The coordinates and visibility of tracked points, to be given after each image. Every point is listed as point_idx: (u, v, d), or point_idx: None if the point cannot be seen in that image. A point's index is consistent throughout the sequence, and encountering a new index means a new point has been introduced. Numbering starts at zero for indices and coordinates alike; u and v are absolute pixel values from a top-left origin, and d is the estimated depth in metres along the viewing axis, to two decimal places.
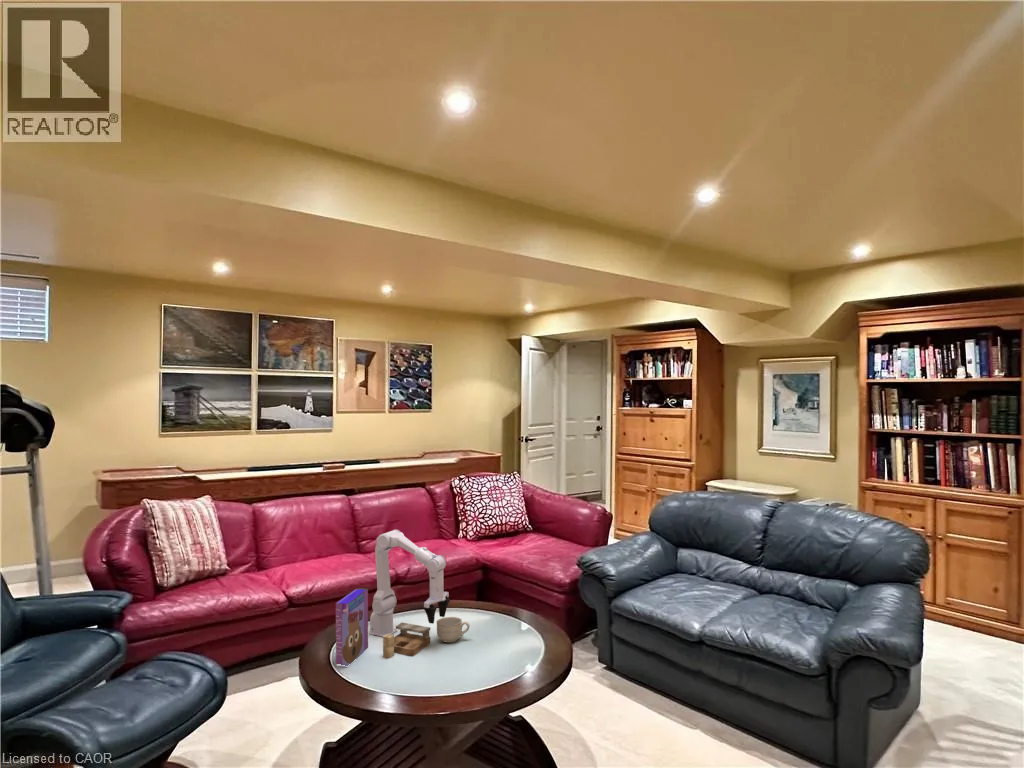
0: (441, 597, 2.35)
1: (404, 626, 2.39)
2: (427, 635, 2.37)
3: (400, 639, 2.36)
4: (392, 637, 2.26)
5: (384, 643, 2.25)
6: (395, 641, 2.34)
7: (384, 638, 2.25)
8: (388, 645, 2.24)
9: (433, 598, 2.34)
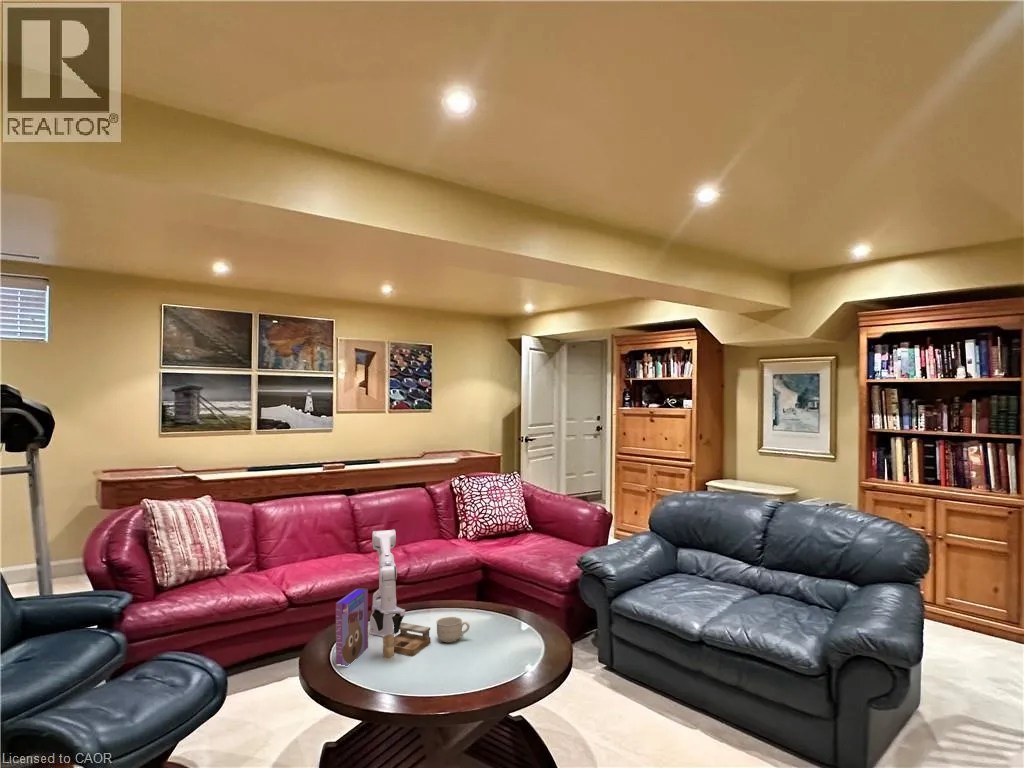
0: (383, 608, 2.24)
1: (404, 626, 2.39)
2: (427, 635, 2.37)
3: (400, 639, 2.36)
4: (392, 637, 2.26)
5: (384, 643, 2.25)
6: (395, 641, 2.34)
7: (384, 638, 2.25)
8: (388, 645, 2.24)
9: None
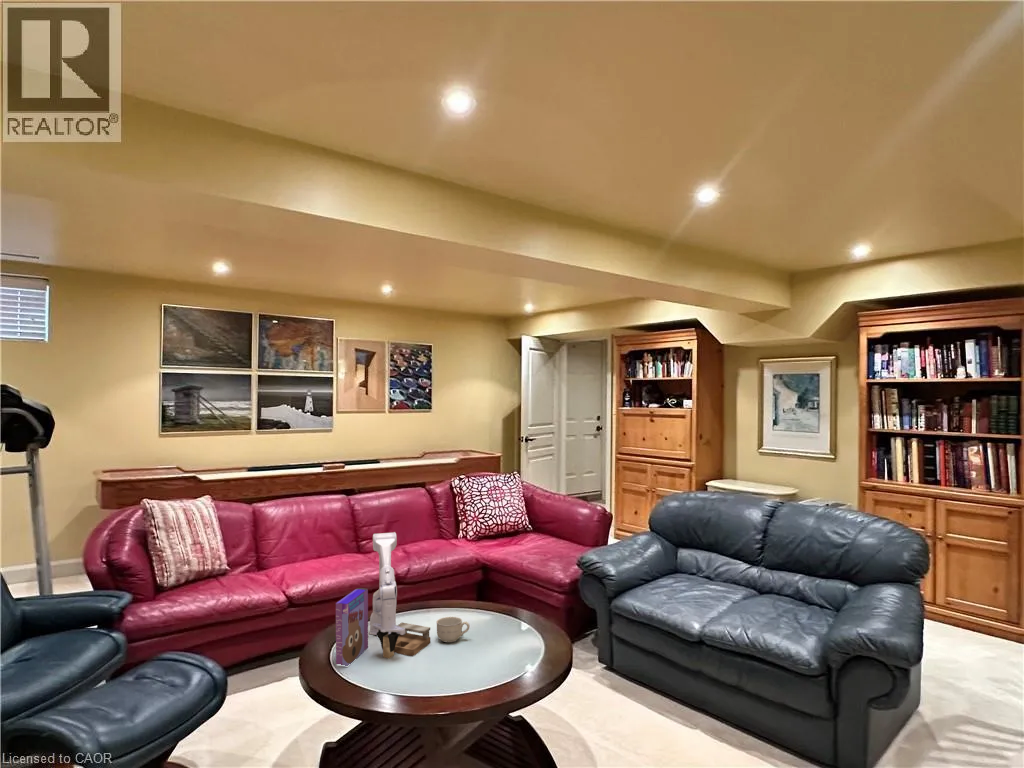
0: (383, 627, 2.24)
1: (404, 626, 2.39)
2: (427, 635, 2.37)
3: (400, 639, 2.36)
4: None
5: (384, 643, 2.25)
6: None
7: (384, 638, 2.25)
8: (388, 645, 2.24)
9: None
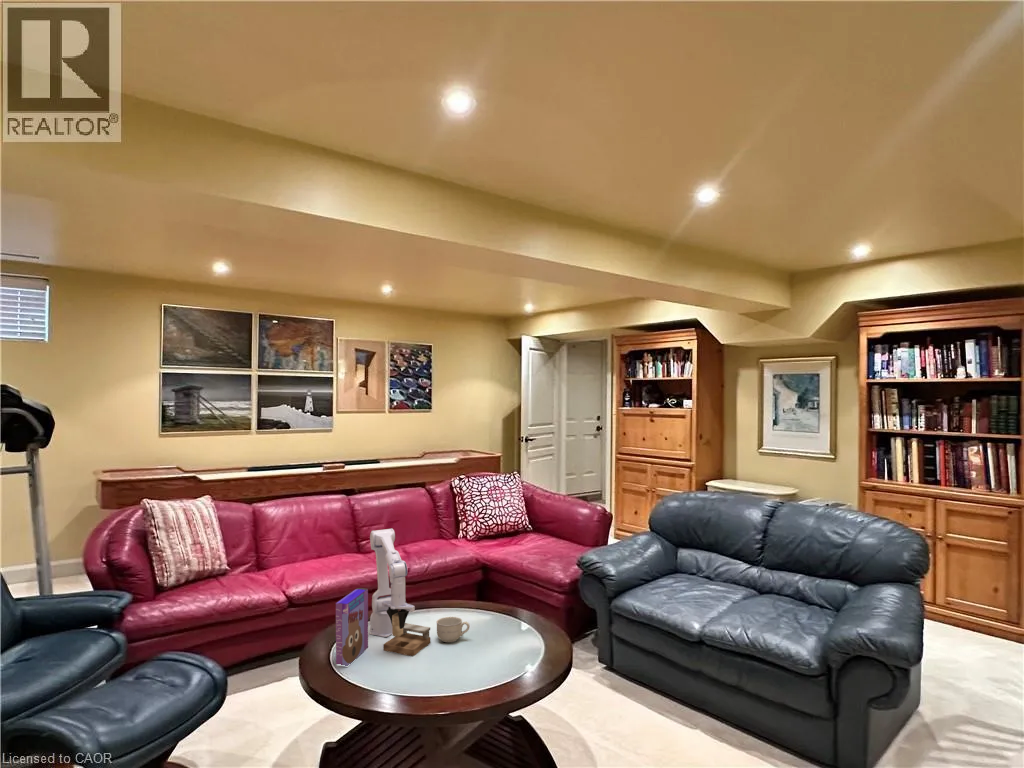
0: (393, 604, 2.28)
1: (404, 626, 2.39)
2: (427, 635, 2.37)
3: (400, 639, 2.36)
4: None
5: (393, 622, 2.29)
6: (395, 641, 2.34)
7: (393, 616, 2.29)
8: (397, 624, 2.28)
9: None
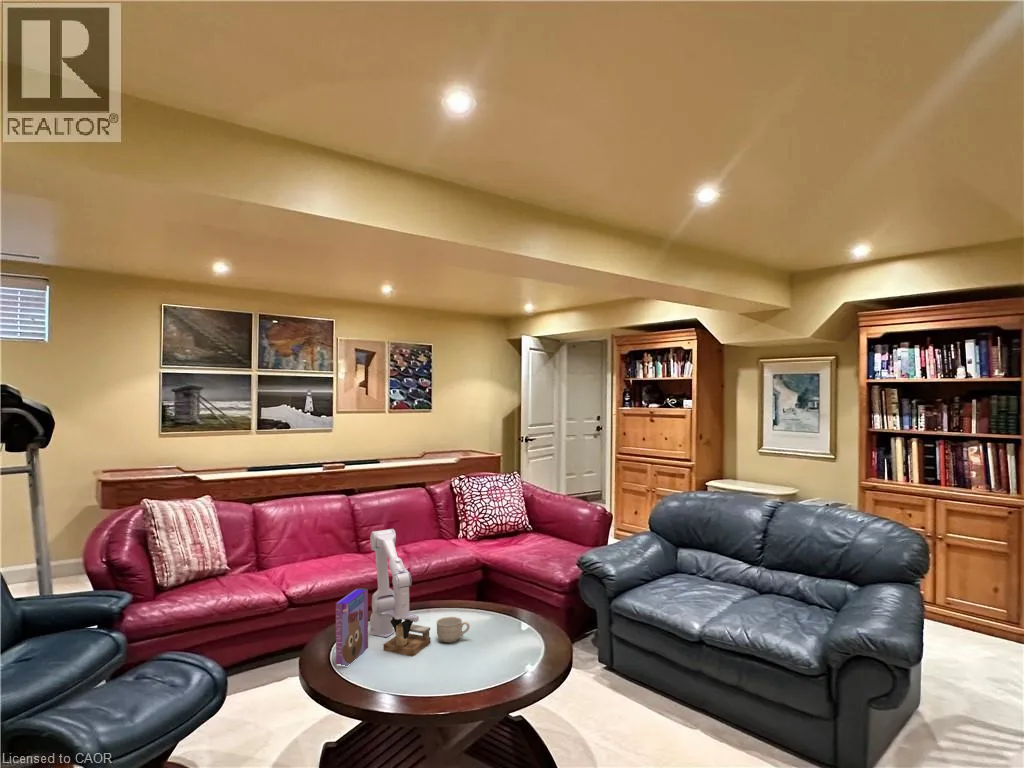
0: (397, 615, 2.29)
1: None
2: (427, 635, 2.37)
3: None
4: None
5: (397, 632, 2.30)
6: (395, 641, 2.34)
7: (397, 627, 2.30)
8: (401, 634, 2.29)
9: None
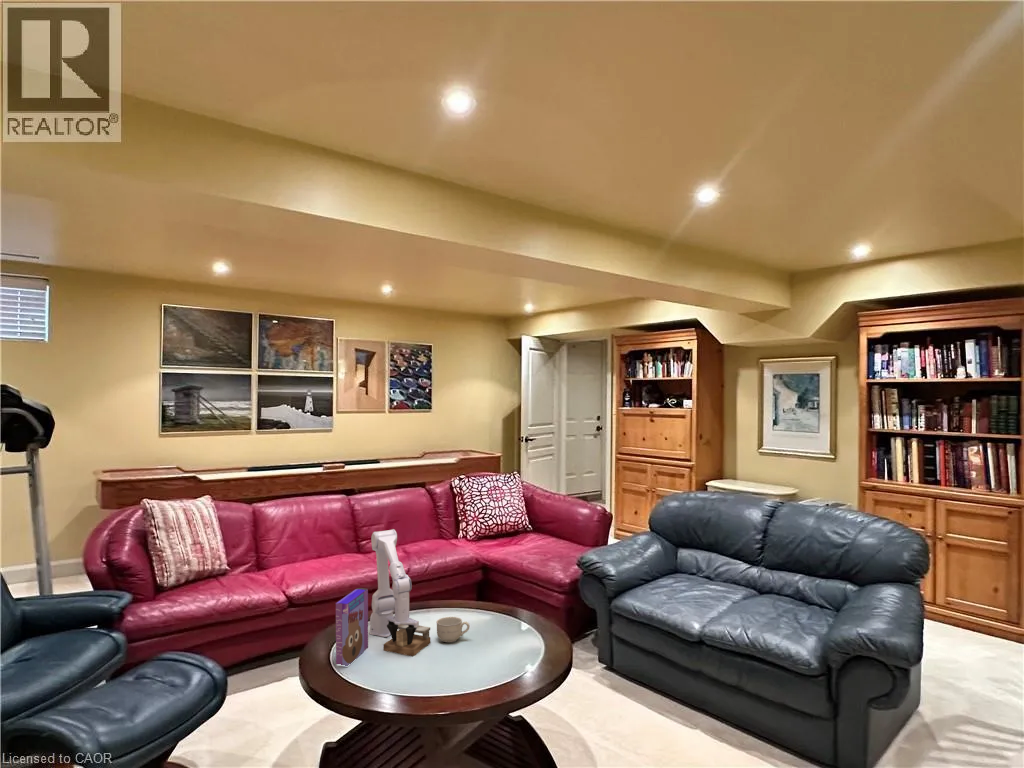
0: (397, 620, 2.29)
1: (404, 626, 2.39)
2: (427, 635, 2.37)
3: None
4: (405, 632, 2.31)
5: (397, 638, 2.30)
6: (395, 641, 2.34)
7: (397, 632, 2.30)
8: (401, 640, 2.29)
9: None
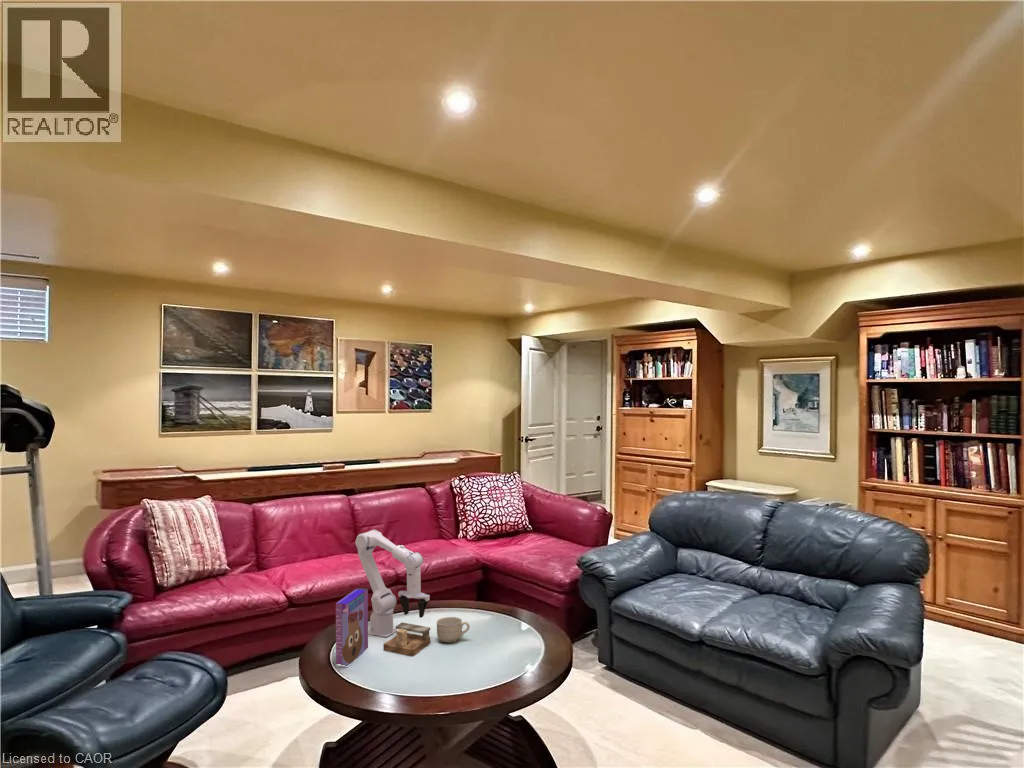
0: (409, 594, 2.40)
1: (404, 626, 2.39)
2: (427, 635, 2.37)
3: None
4: (405, 632, 2.31)
5: (397, 638, 2.30)
6: (395, 641, 2.34)
7: (397, 632, 2.30)
8: (401, 640, 2.29)
9: None
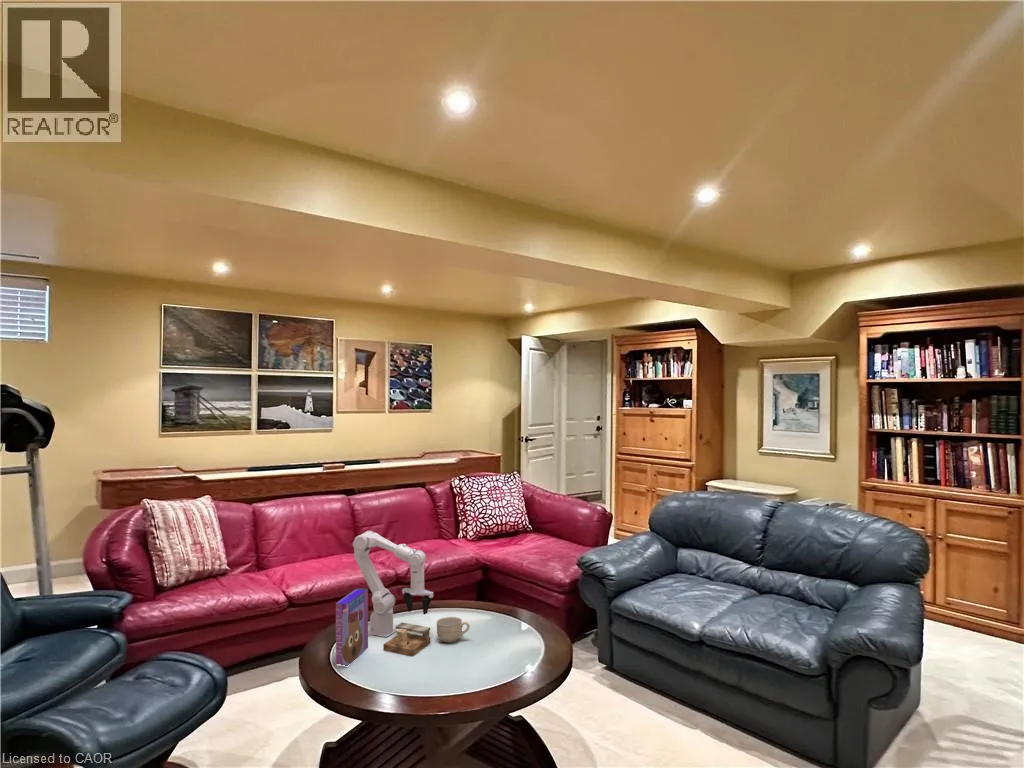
0: (413, 591, 2.43)
1: (404, 626, 2.39)
2: (427, 635, 2.37)
3: None
4: (405, 632, 2.31)
5: (397, 638, 2.30)
6: (395, 641, 2.34)
7: (397, 632, 2.30)
8: (401, 640, 2.29)
9: None
